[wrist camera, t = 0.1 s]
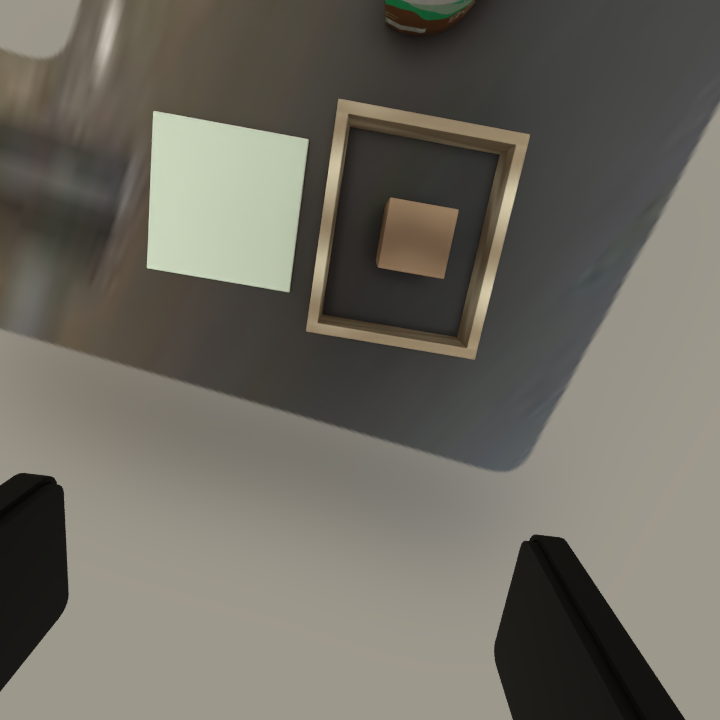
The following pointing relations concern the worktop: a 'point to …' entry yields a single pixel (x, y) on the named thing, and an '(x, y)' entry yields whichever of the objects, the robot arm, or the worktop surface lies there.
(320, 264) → the access box
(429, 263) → the walnut block
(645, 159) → the worktop surface
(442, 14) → the food container
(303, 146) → the mat
